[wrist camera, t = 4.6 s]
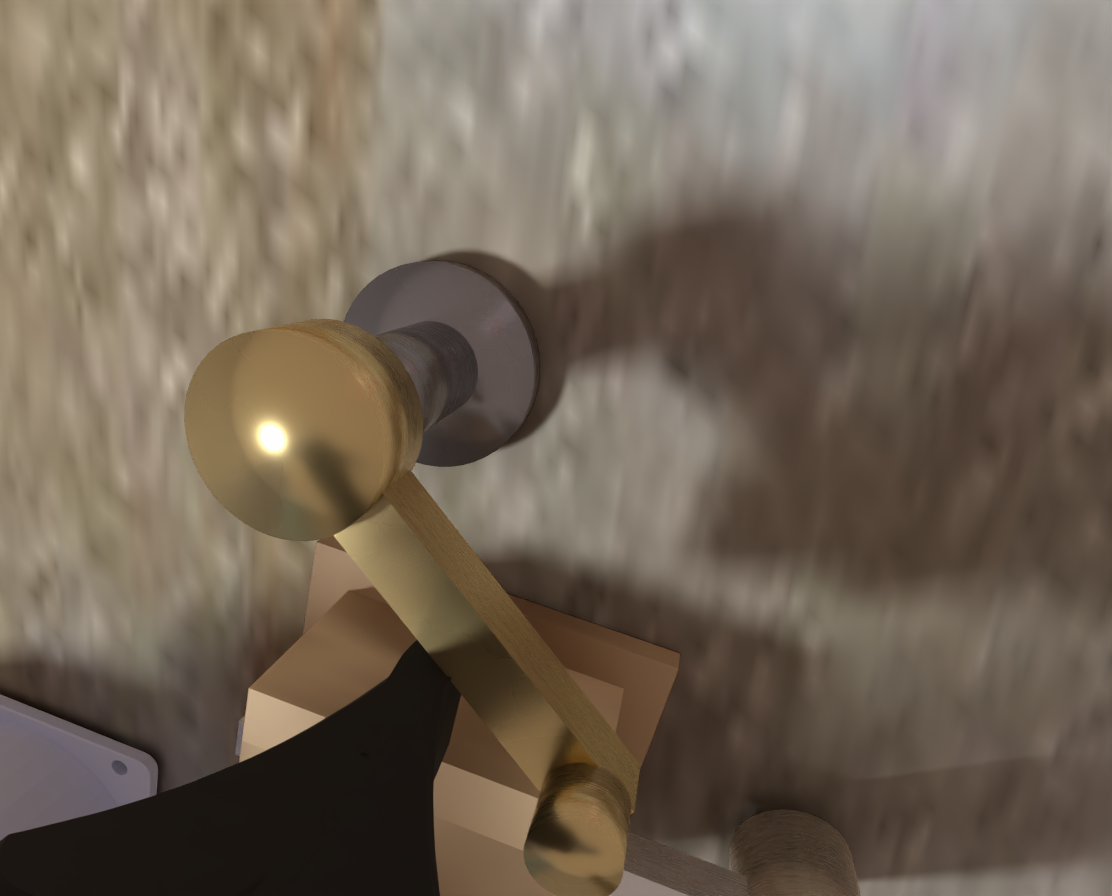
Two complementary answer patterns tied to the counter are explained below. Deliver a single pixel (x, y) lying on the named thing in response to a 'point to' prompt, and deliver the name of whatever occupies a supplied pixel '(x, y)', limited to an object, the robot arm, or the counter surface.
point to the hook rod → (741, 860)
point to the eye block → (474, 752)
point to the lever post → (455, 354)
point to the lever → (410, 564)
